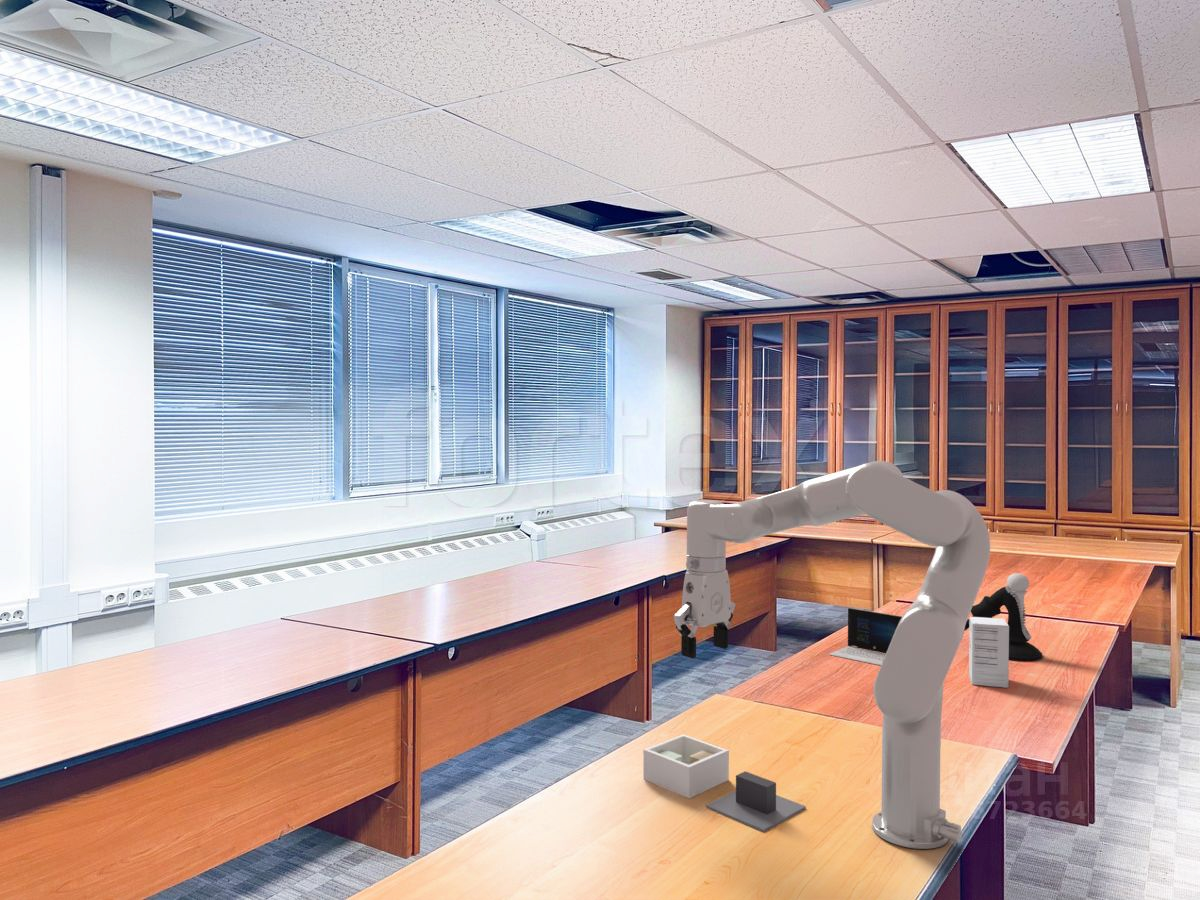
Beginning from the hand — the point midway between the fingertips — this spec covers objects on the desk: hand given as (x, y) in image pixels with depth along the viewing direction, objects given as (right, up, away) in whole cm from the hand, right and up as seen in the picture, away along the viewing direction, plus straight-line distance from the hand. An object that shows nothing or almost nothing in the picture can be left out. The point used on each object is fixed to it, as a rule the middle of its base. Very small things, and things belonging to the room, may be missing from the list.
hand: (704, 651), depth 164 cm
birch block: (0, -26, +4) cm, 26 cm away
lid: (+8, -28, -8) cm, 30 cm away
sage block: (-7, -26, +5) cm, 27 cm away
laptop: (+60, -24, +92) cm, 113 cm away
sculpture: (+103, -23, +97) cm, 143 cm away
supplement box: (+86, -24, +67) cm, 112 cm away
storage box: (-3, -27, +5) cm, 27 cm away
